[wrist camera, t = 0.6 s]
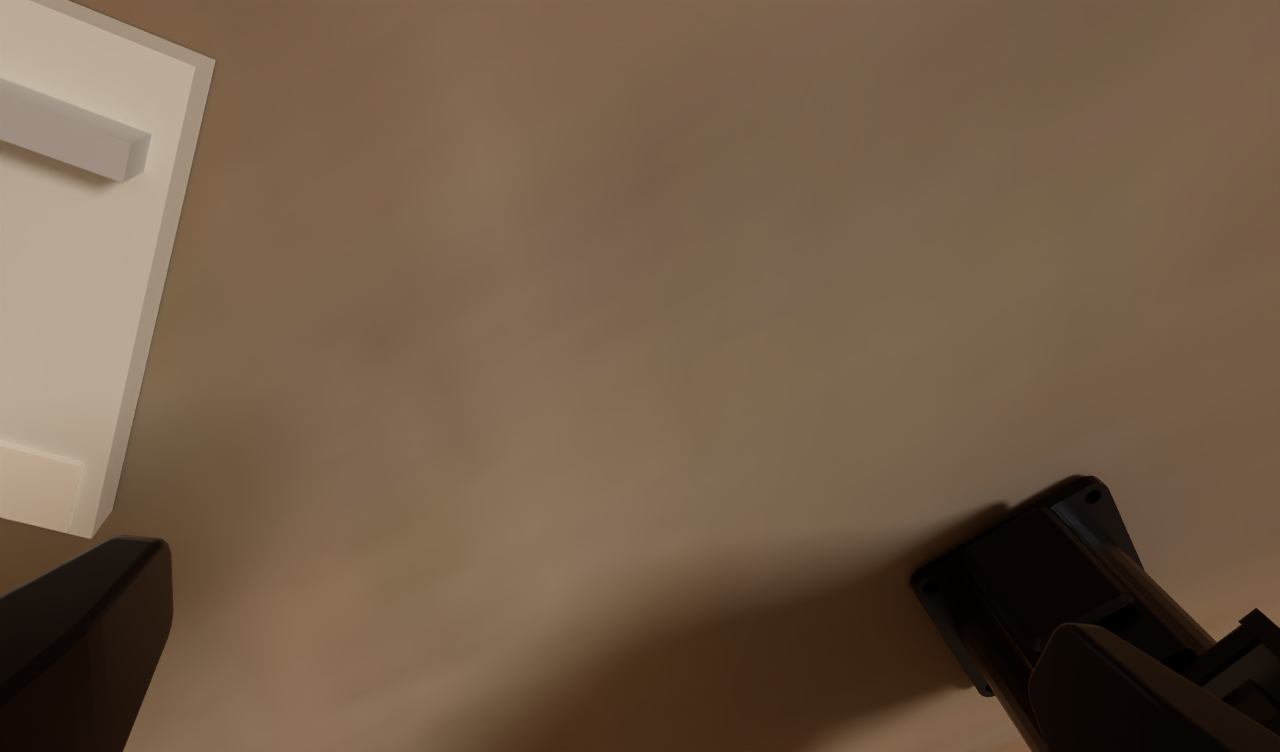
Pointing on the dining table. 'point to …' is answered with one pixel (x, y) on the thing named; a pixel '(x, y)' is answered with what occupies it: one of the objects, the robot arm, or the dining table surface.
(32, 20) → the gauge board
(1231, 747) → the robot arm
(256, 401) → the dining table surface
